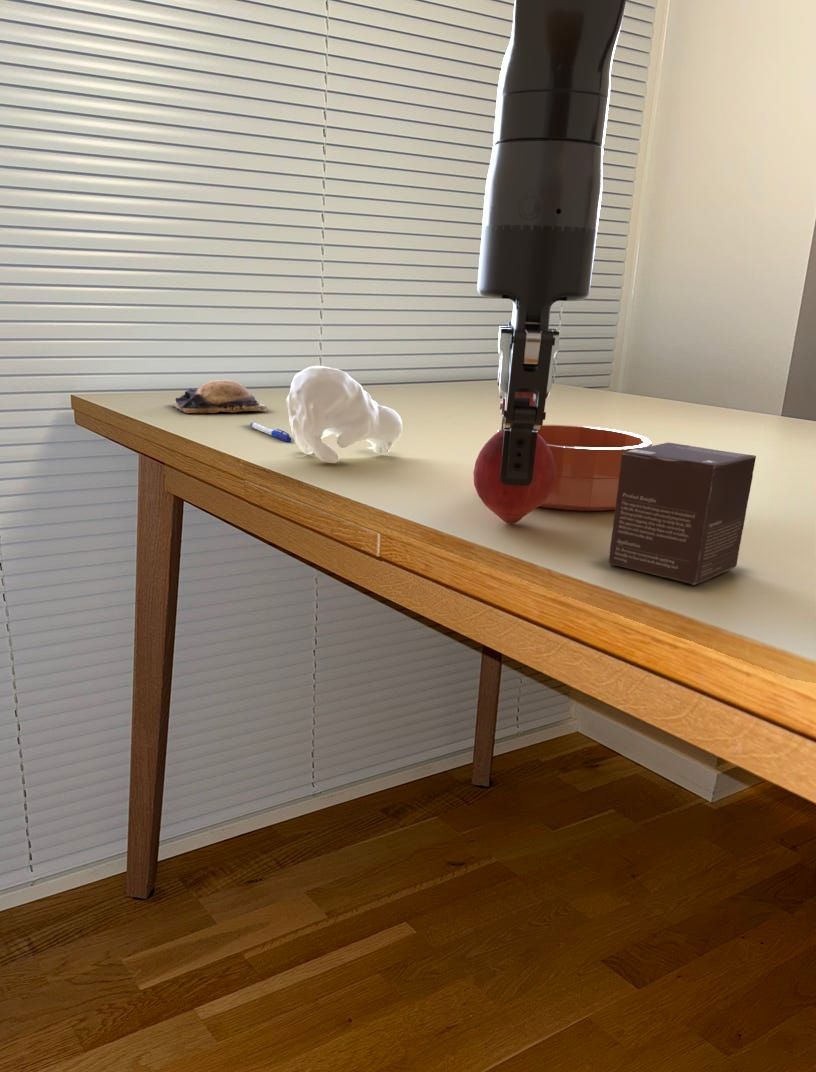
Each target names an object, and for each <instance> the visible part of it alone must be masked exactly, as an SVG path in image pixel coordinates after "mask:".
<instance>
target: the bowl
mask: <svg viewBox="0 0 816 1072" xmlns="http://www.w3.org/2000/svg"><path fill="white" fill-rule="evenodd" d="M500 430H501V428H499V429H498V430H497V432H499V431H500ZM537 432H538V434H539V435H540V436H541V437H542V438H543V440H544V441H545V442H546V443H547V445H548V447H549V448H550V450H551V453H552V455H553V458H554V461H555V466H556V479H555V483H554V486H553V490H552V492H551V493H550V495H549V496H548V498H547V499H546V501H544V502H543V503H542V504H541V505H540V506H539V507H540V508H545V509H546V508H547V509H553V510H562V511H563V510H565V511H577V512H578V511H579V512H581V511H582V512H583V511H584V512H599V511H600V512H601V511H613V510H615V507H616V499H617V491H618V482H619V474H620V468H621V457H622V454H623V453H625V452H627V451H630V450H634V449H639V448H645V447H650V446H653V443H652V441H651V440H649V438H647V437H645V436H642V435H639V434H635V433H633V432H627V431H621V430H616V429H611V428H601V427H594V426H583V425H570V424H569V425H568V424H543V425H542V426H540V431H537Z"/></svg>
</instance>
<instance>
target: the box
mask: <svg viewBox="0 0 816 1072" xmlns="http://www.w3.org/2000/svg"><path fill="white" fill-rule="evenodd" d="M756 459H757V456H756V455H754V454H746V453H738V452H732V451H725V450H719V449H713V448H706V447H700V446H694V445H687V444H680V443H675V442H665V443H658V444H654V445H652V446H650V447H645V448H639V449H634V450H630V451H627V452H625V453H623V454H622V457H621V468H620V474H619V482H618V491H617V499H616V507H615V509H614V516H613V522H612V531H611V539H610V540H611V541H610V548H609V558H608V564H609V565H611V566H616V567H621V568H625V569H629V570H634V571H638V572H642V573H647V574H650V575H653V576H659V577H662V578H667V579H670V580H675V581H679V582H683V583H685V584H690V585H693V586H695V585H698V584H700V583H703V582H705V581H708V580H710V579H712V578H714V577H716V576H718V575H720V574H724V573H726V572H729V571H731V570H733V569H734V568H737V563H738V558H739V552H740V546H741V544H742V543H741V541H742V537H743V536H742V535H743V530H744V526H745V520H746V514H747V509H748V504H749V503H748V502H749V499H750V494H751V487H752V483H753V482H752V481H753V478H754V470H755V465H756Z"/></svg>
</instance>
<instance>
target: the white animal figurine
mask: <svg viewBox="0 0 816 1072" xmlns="http://www.w3.org/2000/svg"><path fill="white" fill-rule="evenodd" d="M285 404H286V407H287V411H288V421H289V425H290V428H291V430H290V431H291V434H292V437H293V441H294V443H295V444H296V446H297V447H298V448H299V450H300V451H301V452H302V453H303V454H305V455H310V456H311V455H313V454H314V455H315V456H316V457H317V458H318V459H319V460H321V461H323V462H325V463H328V464H337V463H338V462H339V455H338V453H336V451H335V449H333V448H332V447H331V446H330V445H328V444H327V443H325V442H324V441H323V440H322V439H324V438H326V437H329V436H331V435H333V436H335V437H336V444H337V446H338V447H339V448H341V449H345V448H348V447H350V446H352V445H353V444H355V443H358V442H364V441H367V442H368V443H370V445H371V446H369V447H368V449H372V450H373V452H374V453H375V454H380V453H381V454H382V455H387V454H389V453H390V451H391V449H392V448H393V447H394V445H395V443H397V441H398V440H400V438H401V437H402V435H403V425H404V424H403V421H402V418H401V416H400V415H399V414H398V413H397V411H396V410H394V409H393V408H390V407H389V406H384V405H380V404H378V403H377V401H375V400H374V399H372V396H371V394H370V393H369V392H367V391H366V390H364V389H363V386H362V384H360V383H359V382H358V381H356V380H355V379H354V378H352V377H351V376H350V375H349V373H347V372H345V371H343V370H341V369H338V368H334V367H329V366H324V365H313V366H308V367H306V368H304V369H303V370H301V371H299V372H297V373H296V374H295V375H294V377H293V379H292V381H291V383H290V390H289V393H288V395H287V397H286V399H285Z"/></svg>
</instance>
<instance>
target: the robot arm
mask: <svg viewBox="0 0 816 1072" xmlns="http://www.w3.org/2000/svg"><path fill="white" fill-rule="evenodd" d="M627 3H628V0H514V5H513V17H512V19H513V20H512V27H511V28H512V29H511V36H510V40H509V44H508V46H507V49H506V52H505V54H504V57H503V60H502V64H501V70H500V73H499V80H498V85H497V86H498V87H497V95H496V107H495V118H494V119H495V120H494V131H493V141H492V144H493V146H492V152H491V157H490V161H489V168H488V172H487V177H486V181H485V182H486V183H485V190H484V191H485V192H484V201H483V214H482V226H481V239H480V248H479V249H480V250H479V261H478V273H477V285H476V290H477V292H478V294H479V295H480V296H481V297H483V298H490V299H493V298H494V299H506V300H507V299H508V300H511V302H512V315H511V321H508V324H507V326H505V325H499V330H498V340H497V352H498V355H499V363H498V364H499V365H498V373H497V387H498V393H499V399H501V402H499V410H500V415H502V416H501V428H500V429H501V430H502V429H504V439H503V449H502V459H501V469H500V480H501V482H502V483H503V484H505V485H515V486H528V485H529V484H530V483H531V482H532V478H533V469H534V460H535V451H536V442H537V433H538V432H537V431H540V426H542V425H544V421H546V415H547V412H546V411H545V409H546V400H547V398H549V396H550V393H551V391H552V383H553V371H554V360H555V358H556V356H557V353H558V350H559V346H560V345H559V344H560V343H559V342H560V330H557V328H551V327H550V321H551V308H552V306H553V304H555V303H556V302H581V301H584V300H586V299H587V298H588V296H589V295H590V291H591V283H592V276H593V268H594V259H595V250H596V242H597V236H598V227H599V218H600V212H601V211H600V210H601V204H602V203H601V202H602V194H603V178H604V176H603V173H604V172H603V171H604V170H603V156H604V147H603V146H604V145H605V138H606V129H607V123H608V122H607V121H608V113H609V112H608V111H609V104H610V96H611V78H612V67H613V60H614V55H615V51H616V47H617V43H618V38H619V35H620V32H621V27H622V23H623V20H624V16H625V11H626V7H627ZM510 428H511V429H510Z"/></svg>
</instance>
